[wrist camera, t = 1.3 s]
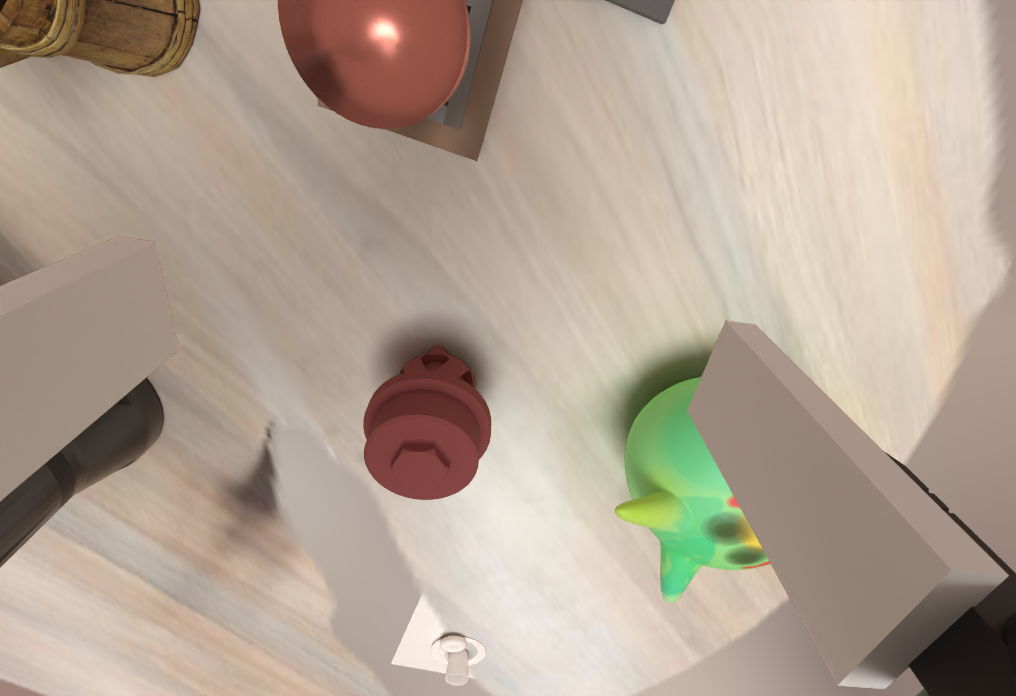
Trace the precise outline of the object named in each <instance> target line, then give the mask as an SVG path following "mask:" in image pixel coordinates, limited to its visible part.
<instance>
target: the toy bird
mask: <svg viewBox="0 0 1016 696" xmlns="http://www.w3.org/2000/svg"><path fill="white" fill-rule="evenodd" d="M700 379H701V377H697V378H693V379H689V380H686V381H683V382H680V383H677V384H675V385H673V386H671V387H669V388H667V389H666V390H664V391H662V392H661V393H659V394H658V395H657V396H655V397H654V398H653V399H652V400H651V401H650V402H649V403H648V404H647V405H646V406H645V407H644V408H643V409H642V410H641V412H640V413H639V414H638V416H637V417H636V419H635V421H634V423H633V425H632V427H631V429H630V432H629V435H628V438H627V443H626V449H625V471H626V478H627V483H628V487H629V490H630V494H631V496H632V499H633V500H631V501H627V502H625V503H622V504H620V505H618V506H617V507H616V508H615V513H616V515H617V516H618V517H619V518H621V519H622V520H625V521H627V522H630V523H633V524H637V525H641V526H646V527H648V528H649V529H650V530H651V531H652V533H653V534H654V535H655V536H656V537H657V538H658V539H659V540H660V545H661V566H660V581H661V592H662V596H663V598H664V600H665V601H667V602H668V603H673V602H675V601H676V600H677V599H678V598H679V597H680V596H681V595H682V593H683V592H684V591H685V589H686V588H687V586H688V584H689V583H690V581H691V580H692V578H693V577H694V575H695V574H696V572H697V571H698V570H699V568H700V567H701V566H707V567H712V568H717V569H725V570H746V569H753V568H758V567H762V566H765V565H769V564H771V563H770V561H769V560H768V558H767V556H766V554H765V552H764V551H763V549H762V547H761V545H760V543H759V541H758V540H757V538H756V536H755V534H754V532H753V530H752V529H751V527H750V525H749V523H748V521H747V519H746V518H745V516H744V514H743V512H742V510H741V508H740V507H739V505H738V503H737V501H736V499H735V498H734V496H733V494H732V492H731V490H730V488H729V487H728V485H727V483H726V481H725V479H724V477H723V476H722V474H721V472H720V470H719V468H718V466H717V465H716V463H715V461H714V459H713V457H712V455H711V454H710V452H709V450H708V448H707V446H706V445H705V443H704V441H703V439H702V437H701V435H700V434H699V432H698V430H697V428H696V426H695V424H694V423H693V421H692V419H691V417H690V415H689V413H688V412H687V409H688V407H689V405H690V402H691V400H692V398H693V395H694V393H695V391H696V388H697V386H698V384H699V381H700Z"/></svg>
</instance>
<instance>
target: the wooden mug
mask: <svg viewBox="0 0 1016 696" xmlns="http://www.w3.org/2000/svg"><path fill="white" fill-rule="evenodd" d="M198 12H199V6H198V1H197V0H0V68H1V67H4V66H7V65H9V64H12V63H15V62H18V61H20V60H23V59H26V58H29V57H45V58H49V57H55V56H58V55H64V56H69V57H73V58H78V59H82V60H87V61H90V62H92V63H94V64H95V65H97V66H99V67H102V68H105V69H107V70H110V71H113V72H115V73H118V74H136V75H145V76H152V77H155V76H157V75H160V74H163V73H165V72H168V71H171V70H173V69H176V68H177V67H178V66H179V64H180V63H181V61H182V60H183V58H184V57H185V56H186V55H187V53H188V51H189V50H190V48H191V46H192V44H193V40H194V36H195V32H196V28H197V21H198Z"/></svg>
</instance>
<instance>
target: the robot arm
mask: <svg viewBox="0 0 1016 696" xmlns="http://www.w3.org/2000/svg"><path fill="white" fill-rule="evenodd" d="M178 350H179V345H178V341H177V337H176V332H175V328H174V323H173V319H172V314H171V310H170V306H169V301H168V297H167V292H166V288H165V284H164V279H163V275H162V270H161V266H160V261H159V257H158V253H157V248H156V244H155V242H154V241H147V240H140V239H132V238H125V237H116V238H113V239H111V240H108V241H106V242H104V243H101V244H99V245H97V246H94V247H92V248H89V249H87V250H85V251H82V252H80V253H77V254H75V255H73V256H70V257H68V258H66V259H63V260H61V261H58V262H56V263H54V264H51V265H49V266H46V267H44V268H42V269H39V270H37V271H35V272H32V273H30V274H27V275H25V276H23V277H20V278H18V279H15V280H13V281H11V282H8V283H6V284H4V285H1V286H0V568H1V567H2V566H3V565H4V564H5V563H6V562H7V561H8V560H9V559H10V558H11V557H12V556H13V555H14V554H15V553H16V552H17V551H18V550H19V549H20V548H21V547H22V546H23V545H24V544H25V543H26V542H27V541H28V540H29V539H30V538H31V537H32V536H33V535H34V534H35V533H36V532H37V531H38V530H39V529H40V528H41V527H42V526H43V525H44V524H45V523H46V522H47V521H48V520H49V519H50V518H51V517H52V516H53V515H54V514H55V513H56V512H57V511H58V510H59V509H60V508H61V507H62V506H63V505H64V504H65V503H66V502H67V501H68V500H69V499H70V498H71V497H72V496H74V495H75V494H77V493H78V492H80V491H82V490H84V489H86V488H87V487H89V486H91V485H93V484H95V483H96V482H98V481H100V480H102V479H103V478H105V477H107V476H109V475H110V474H112V473H114V472H115V471H118V470H120V469H122V468H124V467H126V466H129V465H130V464H132V463H133V462H135V461H136V460H137V459H139V458H140V457H141V456H142V455H143V454H144V453H145V452H146V451H147V450H148V449H149V448H150V446H151V445H152V444H153V443H154V442H155V441H156V440H157V438H158V437H159V435H160V432H161V430H162V425H163V414H162V409H161V405H160V402H159V400H158V398H157V396H156V394H155V392H154V390H153V389H152V387H151V386H150V384H149V383H148V382H147V380H146V379H145V378H146V377H147V376H149V375H150V374H151V373H152V372H153V371H155V370H156V369H157V368H158V367H159V366H160V365H162V364H163V363H164V362H165V361H166V360H168V359H169V358H170V357H171V356H172V355H173V354H175V353H176V352H177V351H178ZM687 412H688V413H689V415H690V417H691V419H692V421H693V423H694V424H695V426H696V428H697V430H698V432H699V434H700V435H701V437H702V439H703V441H704V443H705V445H706V446H707V448H708V450H709V452H710V454H711V455H712V457H713V459H714V461H715V463H716V465H717V466H718V468H719V470H720V472H721V474H722V476H723V477H724V479H725V481H726V483H727V485H728V487H729V488H730V490H731V492H732V494H733V496H734V498H735V499H736V501H737V503H738V505H739V507H740V508H741V510H742V512H743V514H744V516H745V518H746V519H747V521H748V523H749V525H750V527H751V529H752V530H753V532H754V534H755V536H756V538H757V540H758V541H759V543H760V545H761V547H762V549H763V551H764V552H765V554H766V556H767V558H768V560H769V561H770V563H771V565H772V567H773V569H774V571H775V572H776V574H777V576H778V578H779V580H780V582H781V583H782V585H783V587H784V589H785V591H786V593H787V594H788V596H789V598H790V600H791V602H792V603H793V605H794V607H795V609H796V611H797V612H798V614H799V616H800V618H801V620H802V622H803V624H804V625H805V627H806V629H807V631H808V633H809V635H810V636H811V638H812V640H813V642H814V644H815V646H816V647H817V649H818V651H819V653H820V655H821V657H822V658H823V660H824V662H825V664H826V666H827V667H828V669H829V671H830V673H831V675H832V677H833V678H834V680H835V682H836V684H837V685H838V686H850V687H864V688H879V689H885V688H886V687H887V686H889V685H890V684H891V683H892V682H893V681H894V680H895V679H896V678H897V677H899V675H901V674H902V673H903V672H904V671H905V670H906V669H907V668H908V667H910V668H911V670H912V671H913V673H914V674H915V675H916V677H917V678H918V680H919V681H920V683H921V684H922V686H923V687H924V689H923V690H922V691H921V692H920V693H919V694H918V695H916V696H1016V573H1015V572H1014V571H1013V570H1012V569H1010V567H1008V565H1007V564H1005V563H1004V562H1003V561H1002V560H1001V559H1000V558H999V557H998V556H997V555H996V554H995V553H994V552H993V551H992V550H991V549H990V548H989V547H988V546H987V545H986V544H985V543H984V542H983V541H982V540H981V539H980V538H979V537H978V536H977V535H976V534H974V532H973V531H972V530H971V529H970V528H969V527H967V526H966V525H965V524H964V523H963V522H962V521H961V520H960V519H959V518H958V517H957V516H956V515H955V514H953V513H949V511H948V510H949V508H948V507H947V506H946V505H945V504H944V503H943V502H942V501H941V500H940V499H939V498H938V497H937V496H935V494H932V493H929V491H928V490H929V489H928V488H927V487H926V486H925V485H924V484H923V483H922V482H921V481H920V480H919V479H918V478H917V477H916V476H915V475H914V474H913V473H912V472H911V471H910V470H909V469H908V468H907V467H906V466H905V465H903V464H902V463H900V462H899V461H897V460H896V459H894V458H893V457H891V456H890V455H889V454H887V453H886V452H884V451H883V450H882V449H881V448H880V447H879V446H878V445H877V444H876V443H875V442H874V441H873V440H872V439H871V438H870V437H869V436H868V435H867V434H866V433H865V432H864V431H863V430H862V429H860V428H859V427H858V426H857V425H856V424H855V423H854V422H853V421H852V420H851V419H850V418H849V417H848V416H847V415H846V414H845V413H844V412H843V411H842V410H841V409H840V408H839V407H838V406H837V405H836V404H835V403H834V402H833V401H832V400H831V399H830V398H829V397H828V396H827V395H826V394H825V393H824V392H823V391H822V390H821V389H820V388H819V387H818V386H817V385H816V384H815V383H814V382H813V381H812V380H811V379H810V378H809V377H808V376H807V375H806V374H805V373H804V372H803V371H802V370H801V369H800V368H799V367H798V366H797V365H796V364H795V363H794V362H793V361H792V360H791V359H790V358H789V357H788V356H787V355H786V354H785V353H784V352H783V351H782V350H781V349H780V348H779V347H778V346H777V345H776V344H775V343H774V342H773V341H772V340H771V339H770V338H769V337H768V336H767V335H766V334H765V333H764V332H762V331H761V330H760V329H759V328H758V327H757V326H756V325H755V324H747V323H740V322H733V321H725V323H724V325H723V328H722V330H721V332H720V335H719V337H718V339H717V342H716V344H715V346H714V349H713V351H712V353H711V356H710V358H709V360H708V363H707V365H706V367H705V370H704V372H703V374H702V377H701V379H700V381H699V384H698V386H697V388H696V391H695V393H694V395H693V398H692V400H691V402H690V405H689V407H688V409H687Z"/></svg>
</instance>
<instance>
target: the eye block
mask: <svg viewBox="0 0 1016 696" xmlns="http://www.w3.org/2000/svg"><path fill="white" fill-rule="evenodd" d="M466 4H467V8H468V12H469V19H470V28H471V43H470V53H469V58H468V63H467V66H466V70H465V73H464V75H463V78H462V80H461V82H460V84H459V86H458V87H457V89H456V91H455V92H454V94H453V95H452V96H451V97H450V99H449V100H448V101H447V102H446V103H445V104H444V105H443V106H442V107H441V108H440V109H438V110H437V111H435V112H434V113H432V114H431V115H429V116H427V117H425V118H424V119H422V120H420V121H418V122H415V123H413V124H410V125H407V126H404V127H399V128H392V129H386V130H389V131H392V132H395V133H398V134H401V135H403V136H406V137H409V138H412V139H415V140H418V141H421V142H424V143H426V144H429V145H432V146H435V147H438V148H441V149H444V150H447V151H449V152H452V153H455V154H458V155H461V156H464V157H467V158H470V159H472V160H475V161H477V160H478V156H479V153H480V150H481V146H482V142H483V139H484V135H485V132H486V128H487V125H488V121H489V118H490V114H491V110H492V107H493V103H494V100H495V96H496V93H497V89H498V86H499V82H500V78H501V75H502V71H503V68H504V64H505V61H506V57H507V54H508V50H509V46H510V43H511V39H512V36H513V32H514V29H515V25H516V22H517V18H518V15H519V11H520V7H521V4H522V0H466ZM317 106H320V107H323V108H326V109H329V110H332V109H330V108H329V107H328V106H326V105H325V104H324V103H323V102H322V101H321V100H320V99H319V98H318V105H317ZM332 111H333V110H332Z"/></svg>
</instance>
